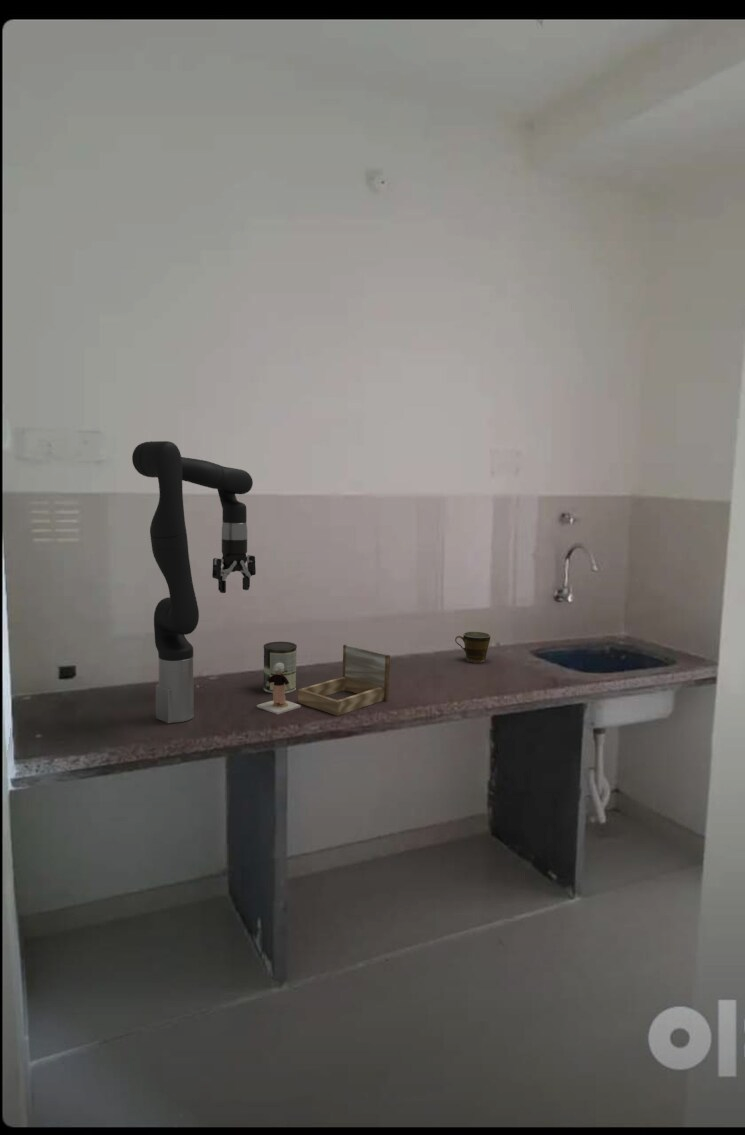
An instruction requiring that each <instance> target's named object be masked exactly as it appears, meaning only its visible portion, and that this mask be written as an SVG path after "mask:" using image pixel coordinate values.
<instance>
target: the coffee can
mask: <svg viewBox="0 0 745 1135" xmlns="http://www.w3.org/2000/svg"><path fill="white" fill-rule="evenodd" d="M297 648H298V645H297V644H296V643H293V642H290V641H271V642H267V643H265V644H263V688H262V689H263V691H265V692H266V693H269V694H273V686H274V682H273V683H270V685H269V686H266V684H267V681H268V679H269V678H270V677H271V676H273V675H277V674H276V673H275V671H273V667H274V666H275V664H277V663H283V664H284V672H283V674H281V675H283V676H285V677H286V678H287V680H288V681H289V685H290V688H291V689H290V690H287V687H286V685H285V683H284V686H285V694H289V693H292V692H295V691H296V690H297V686H296V685H297V681H296V680H297Z"/></svg>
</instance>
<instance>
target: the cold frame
mask: <svg viewBox="0 0 745 1135" xmlns="http://www.w3.org/2000/svg"><path fill="white" fill-rule="evenodd" d="M342 645H343V647H342V676H341V677H337V678H334V679H330V680H326V681H323V682H319V683H316V684H312V685H310V686H305V687H302V688H298V689H297V704H300V705H304V706H306V707H307V706H308V707H310V708H313V709H316V710H320V711H322V712H326V713H329V714H331V715H333V716H334V715H335V716H336V717H337V716H338V717H339V716H342V715H344V714H347V713H350V712H354V711H356V710H360V709H361V708H365V707H367V706H371V705H373V704H377V703H380V702H383V701H386V702H387V701H389V696H390V695H389V694H390V669H391V666H390V664H391V662H390V661H391V655H390V654H386V653H382V652H378V651H373V650H369V649H365V648H361V647H358V646H353V645H349V644H346V643H344V644H342ZM344 691H346V692H350V693H353V694H354V695H350V696H347V697H344V698H340V699H334V698H332V697H329V696H330V695H333V694H337V693H339V692H344Z"/></svg>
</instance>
